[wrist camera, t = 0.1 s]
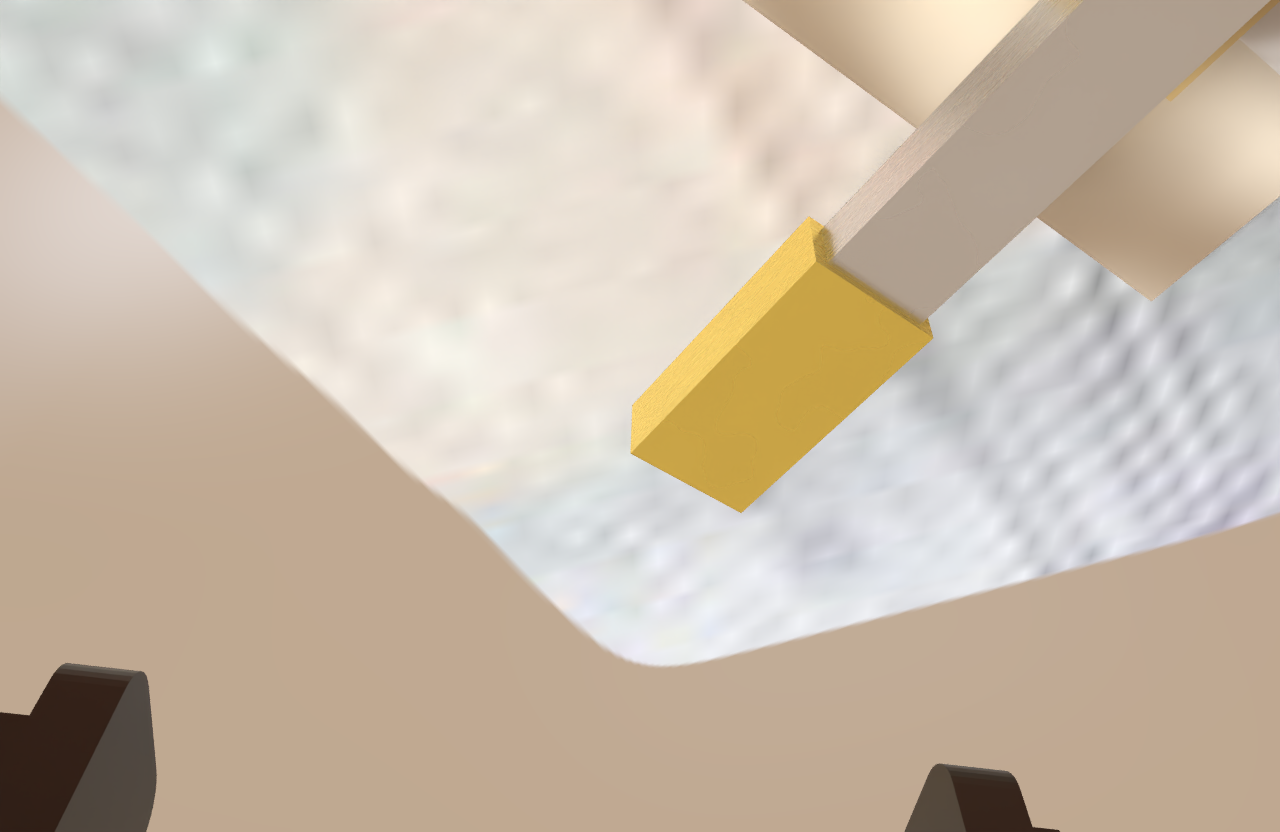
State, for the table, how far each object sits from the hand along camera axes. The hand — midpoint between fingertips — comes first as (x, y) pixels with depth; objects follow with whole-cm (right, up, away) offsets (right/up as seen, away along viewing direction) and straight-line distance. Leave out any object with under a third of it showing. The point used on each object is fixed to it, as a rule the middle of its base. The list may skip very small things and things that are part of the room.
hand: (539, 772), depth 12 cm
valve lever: (+7, +9, +12) cm, 16 cm away
